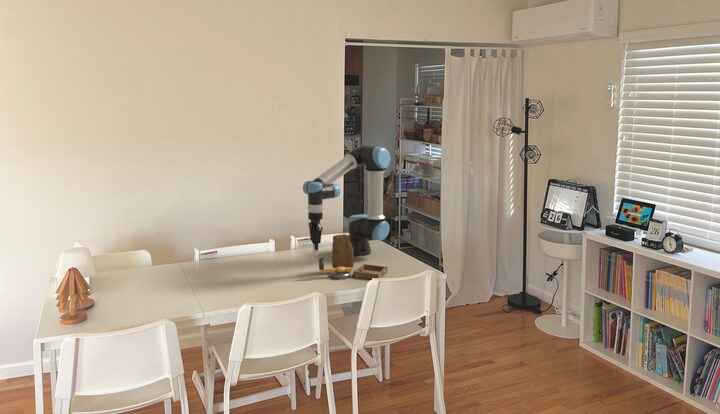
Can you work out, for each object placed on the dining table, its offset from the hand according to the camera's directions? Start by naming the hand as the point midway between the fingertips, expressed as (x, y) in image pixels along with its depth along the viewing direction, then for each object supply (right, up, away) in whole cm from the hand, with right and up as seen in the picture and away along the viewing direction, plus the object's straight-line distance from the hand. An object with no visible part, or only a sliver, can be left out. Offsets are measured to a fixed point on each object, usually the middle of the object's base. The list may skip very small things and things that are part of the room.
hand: (315, 255), depth 330 cm
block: (+14, -9, +8) cm, 19 cm away
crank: (+11, -8, -3) cm, 14 cm away
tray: (+29, -11, +1) cm, 31 cm away
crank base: (+13, -11, -2) cm, 18 cm away
